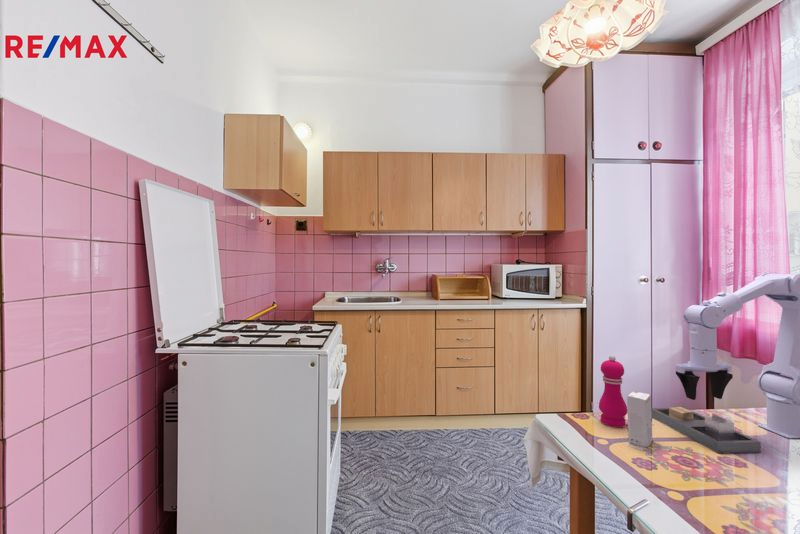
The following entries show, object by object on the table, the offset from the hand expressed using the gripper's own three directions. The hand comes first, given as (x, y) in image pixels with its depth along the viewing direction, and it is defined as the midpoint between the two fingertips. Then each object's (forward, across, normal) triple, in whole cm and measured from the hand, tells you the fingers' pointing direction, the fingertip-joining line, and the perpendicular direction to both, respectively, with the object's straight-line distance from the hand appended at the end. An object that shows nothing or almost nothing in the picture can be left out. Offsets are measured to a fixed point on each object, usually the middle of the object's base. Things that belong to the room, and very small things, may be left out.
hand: (703, 398), depth 96 cm
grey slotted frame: (+10, +1, -1) cm, 10 cm away
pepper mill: (+10, +21, -8) cm, 24 cm away
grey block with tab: (+10, +1, +5) cm, 11 cm away
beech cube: (+10, +1, -7) cm, 12 cm away
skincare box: (+10, +21, +3) cm, 23 cm away
